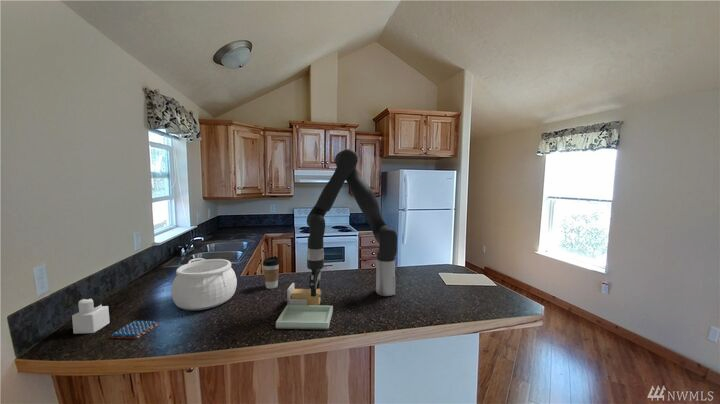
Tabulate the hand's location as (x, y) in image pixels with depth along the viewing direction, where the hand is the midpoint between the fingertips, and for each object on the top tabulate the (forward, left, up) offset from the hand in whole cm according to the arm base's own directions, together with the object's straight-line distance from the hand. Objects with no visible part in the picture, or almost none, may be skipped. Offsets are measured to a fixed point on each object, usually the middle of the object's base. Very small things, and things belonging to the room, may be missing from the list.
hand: (315, 292), depth 122 cm
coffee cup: (+27, -19, -6) cm, 34 cm away
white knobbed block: (+81, +23, -6) cm, 84 cm away
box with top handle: (+4, 0, -6) cm, 7 cm away
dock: (+7, 0, -5) cm, 9 cm away
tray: (+1, +14, -5) cm, 15 cm away
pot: (+52, -2, -6) cm, 52 cm away
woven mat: (+63, +24, -6) cm, 68 cm away
